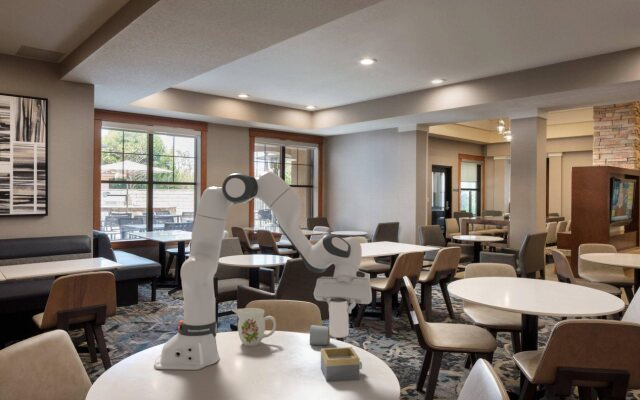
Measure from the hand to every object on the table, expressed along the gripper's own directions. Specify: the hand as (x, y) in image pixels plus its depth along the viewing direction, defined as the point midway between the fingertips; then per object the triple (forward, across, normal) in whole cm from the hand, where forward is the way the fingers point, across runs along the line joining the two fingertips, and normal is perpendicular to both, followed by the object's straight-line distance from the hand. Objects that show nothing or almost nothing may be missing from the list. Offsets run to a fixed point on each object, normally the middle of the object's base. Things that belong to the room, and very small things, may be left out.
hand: (339, 311), depth 148 cm
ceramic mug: (-5, -15, +36) cm, 39 cm away
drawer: (+15, 0, +15) cm, 21 cm away
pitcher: (0, -41, +30) cm, 51 cm away
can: (+5, 0, +6) cm, 8 cm away
